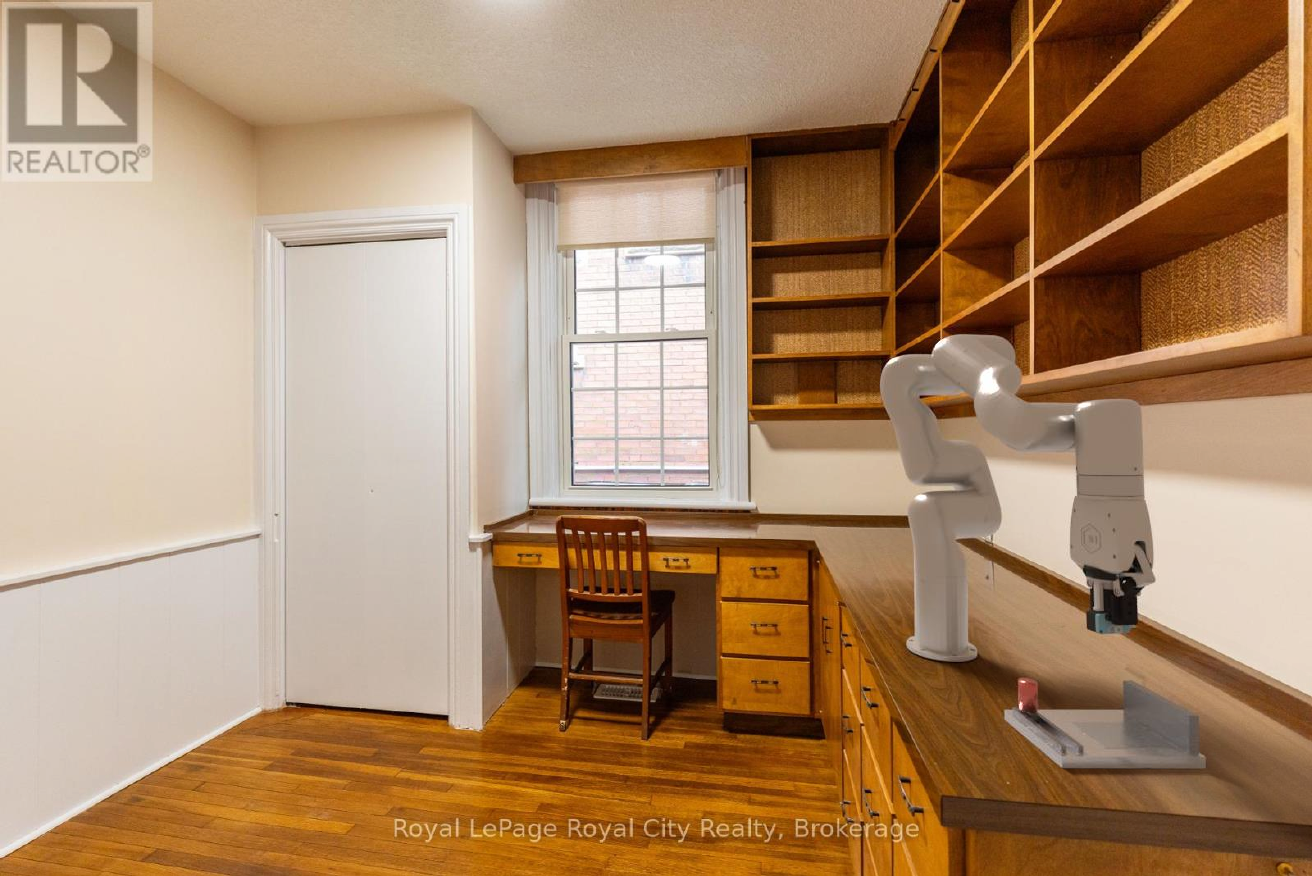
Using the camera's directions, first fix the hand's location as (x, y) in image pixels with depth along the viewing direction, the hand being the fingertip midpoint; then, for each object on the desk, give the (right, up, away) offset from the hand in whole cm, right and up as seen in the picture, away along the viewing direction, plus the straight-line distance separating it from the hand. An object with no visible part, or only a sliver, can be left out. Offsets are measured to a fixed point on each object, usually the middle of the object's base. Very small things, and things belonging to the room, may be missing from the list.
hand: (1113, 619), depth 82 cm
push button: (0, -2, 0) cm, 2 cm away
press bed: (-2, -17, 0) cm, 17 cm away
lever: (-9, -15, +4) cm, 18 cm away
